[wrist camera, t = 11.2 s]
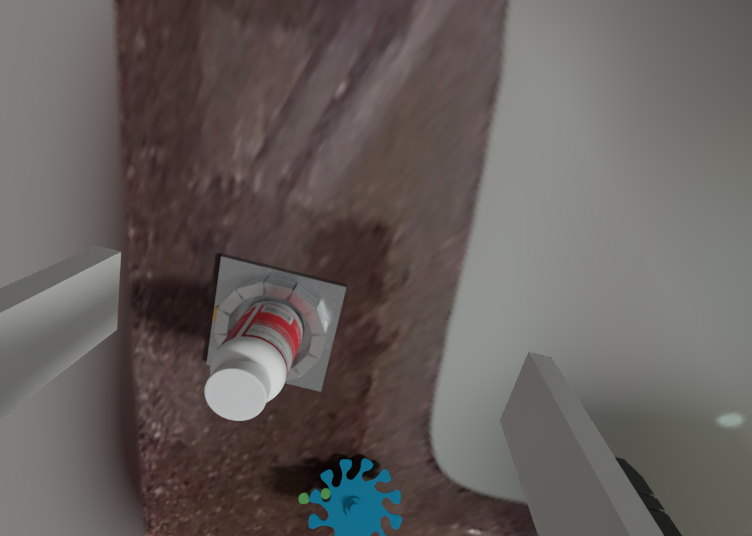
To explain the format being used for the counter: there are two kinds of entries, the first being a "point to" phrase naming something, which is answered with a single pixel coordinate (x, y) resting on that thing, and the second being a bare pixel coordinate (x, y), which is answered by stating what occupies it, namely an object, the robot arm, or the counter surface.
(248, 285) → the duct flange
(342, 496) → the blue knobbed piece
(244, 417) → the pill bottle
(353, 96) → the counter surface
